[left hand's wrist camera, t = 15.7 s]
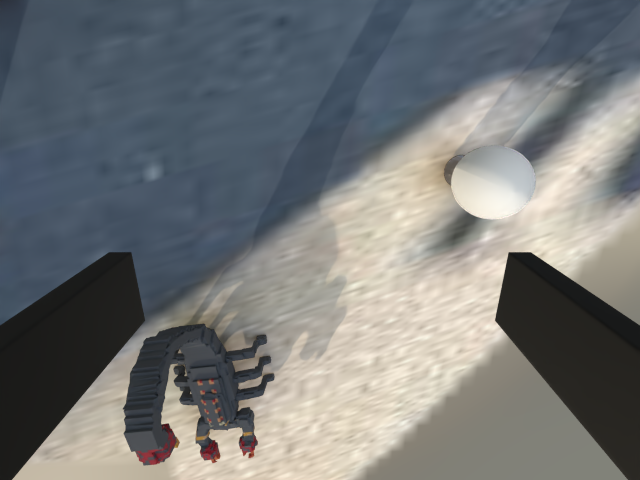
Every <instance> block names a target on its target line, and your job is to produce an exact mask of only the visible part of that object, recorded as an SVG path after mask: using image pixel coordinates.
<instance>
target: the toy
mask: <svg viewBox="0 0 640 480" xmlns="http://www.w3.org/2000/svg"><path fill="white" fill-rule="evenodd" d="M143 343H144V345H143V346H142V348H141V350H140V353H139V356H138V359H137V362H136V364H135V366H134V367H133V368H132V371H131V373H130V384H129V387H128V394H127V400H126V404H125V406H124V408H123V409H125V410H124V413H125V415H126V417H125V419H124V421H125V425H126V430H125V432H124V435H125V438H126V440H127V442H128V445H129V447H130V450H131V452H133V451H135V452H136V454H137V457H139V461H141V462H143V465H154V464H157V463H160V462H164V461H165V459H167V458H168V457H170V455H171V453H172V451H173V449H174V447H175V448H178V445H179V443H180V442H179V440H178V439H177V437H175V435H174V433H173V431H172V429H170V426H169V424H162V425H161V417H162V416H161V412H162V409H163V402H164V399H165V390H166V386H167V382H168V374H169V368H170V365H171V364H177V363H178V365H181V364H185V367H186V371H187V376H184V375H185V367H184V366H175V367H174V372H175V374H176V375H178V376H177V377H176V378H175V380H174V383H175V385H176V386H177V387H180V391H183V393H182V395H181V397H180V399H179V400H180V402H181V404H183V405H198V408H199V411H200V414H201V418H199V421H198V424H197V431H196V444H197V443H199V445H200V446H201V450H200V454H201V457H203V458H204V460H211V461H212V463H215V462H217V461H215V460H217V459H220V453H219V449H218V443H217V442H215V440H211V439H210V438H209V437H208V436H209V434H210V433H209V430H210V429H214V430H228V429H231V428H237V427H240V428H242V430H243V435H242V436H241V437H240V440H239V446H240V449H242V452H243V456H244V455H245V454H246V453H247V452H251V453H249V458H251V457H253V456H254V450H255V446H257V444H258V441H257V440H256V436H255V435H254V429H255V427H254V422H253V421H254V413H253V411H252V410H250V407H247V408H242V409H241V410H240V411H238V407H239V405H238V402H239V401H240V400H245V399H250V398H255V397H259V396H262V395H263V394H264V391H265V388H266V385H267V382H270V381H273V380H274V374H268V375H264V376H263V379H262V382H261V384H260V385H259V386H257V387H251V388H246V389H241V390H240V389H238V386H239V385H238V383H240V382H245V381H247V380H251V379H256V378H258V377H260V376H261V375H262V371H263V366H264V365H265V364H269V363H271V358H270V357H261V358H260V359H259V363H258V366H256V367H255V369H248V370H243V371H238V372H236V373H235V369H234V366H233V363H232V361H235V360H242V359H248V358H253V357H254V356H255V353H256V351H257V348H258V347H259V345H263V344H266V343H267V339H266V335H263V336H257V340H256V341H254V343H253V346H252V347H251V348H246V349H242V350H236V351H229V352H227V351H226V349H225V348H224V346H223V345H222V343H221V342H220V341H219V339H218V337H217V335H216V333H215V331H214V329H212V330H210V329H208V328H207V327H206V326H205V324H197V325H187V326H179V327H174V328H170V329H166V330H163V331H159V333H158V334H157V335H156V336H155V337H150V338H146V339H145V341H144V342H143ZM179 349H180V350H181V352H182V353H178V351H179ZM177 353H178V354H177ZM190 392H191V393H192V394H190Z"/></svg>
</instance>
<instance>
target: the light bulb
mask: <svg viewBox="0 0 640 480" xmlns="http://www.w3.org/2000/svg"><path fill="white" fill-rule="evenodd" d="M444 176H445V179H446V181H447V182H448V183H449V184H450V185H451V188H452V192H453V195H454V197H455V199H456V201H457V202H458V204H459V205H460V206H461V207H462V208H463V209H464V210H465V211H467V212H468V213H470V214H472V215H474V216H477V217H480V218H485V219H501V218H505V217H509V216H511V215H513V214H516V213H517V212H519V211H520V210H521V209H522V208H524V207H525V206H526V205H527V203H528V202H529V201H530V199H531V197H532V196H533V193H534V190H535V184H536V178H535V173H534V170H533V168H532V166H531V164H530V162H529V161H528V160H527V159H526V158H525V157H524V156H523V155H522V154H521V153H519V152H517V151H516V150H513V149H511V148H508V147H505V146H495V145H492V146H484V147H481V148H478V149H475V150H473V151H471V152H469V153H468V154H466V155H459V156H456V157H453V158H452V159H451V160H449V162H448V163H447V164H446V166H445V169H444Z"/></svg>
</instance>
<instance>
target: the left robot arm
mask: <svg viewBox="0 0 640 480" xmlns="http://www.w3.org/2000/svg"><path fill="white" fill-rule="evenodd" d="M144 321H145V318H144V313H143V308H142V303H141V298H140V293H139V288H138V283H137V279H136V274H135V269H134V264H133V259H132V254H131V252H109V253H108V254H106V255H105V256H103V257H102V258H100V259H99V260H97V261H96V262H94V263H93V264H91V265H90V266H88V267H87V268H85V269H84V270H82V271H81V272H79V273H78V274H76V275H75V276H73V277H72V278H70V279H69V280H67V281H66V282H64V283H63V284H61V285H60V286H58V287H57V288H55V289H54V290H52V291H51V292H49V293H48V294H46V295H45V296H44V297H42V298H41V299H39V300H38V301H36V302H35V303H33V304H32V305H30V306H29V307H27V308H26V309H24V310H23V311H21V312H20V313H18V314H17V315H15V316H14V317H12V318H11V319H9V320H8V321H6V322H5V323H3V324H2V325H0V480H12V479H13V478H14V477H15V475H16V474H17V473H18V472H19V471H20V469H21V468H22V467H23V466H24V465H25V464H26V462H27V461H28V460H29V459H30V458H31V456H32V455H33V454H34V453H35V452H36V450H37V449H38V448H39V447H40V446H41V444H42V443H43V442H44V441H45V440H46V438H47V437H48V436H49V435H50V434H51V432H52V431H53V430H54V429H55V428H56V426H57V425H58V424H59V423H60V422H61V420H62V419H63V418H64V417H65V416H66V414H67V413H68V412H69V411H70V410H71V408H72V407H73V406H74V405H75V404H76V402H77V401H78V400H79V399H80V398H81V396H82V395H83V394H84V393H85V392H86V390H87V389H88V388H89V387H90V386H91V384H92V383H93V382H94V381H95V380H96V379H97V377H98V376H99V375H100V374H101V373H102V371H103V370H104V369H105V368H106V367H107V365H108V364H109V363H110V362H111V361H112V359H113V358H114V357H115V356H116V355H117V353H118V352H119V351H120V350H121V349H122V347H123V346H124V345H125V344H126V343H127V341H128V340H129V339H130V338H131V337H132V335H133V334H134V333H135V332H136V331H137V329H138V328H139V327H140V326H141V325H142V323H143V322H144ZM495 321H496V322H497V323H498V325H499V326H500V327H501V328H502V329H503V331H504V332H505V333H506V334H507V335H508V337H509V338H510V339H511V340H512V341H513V343H514V344H515V345H516V346H517V347H518V349H519V350H520V351H521V352H522V353H523V354H524V356H525V357H526V358H527V359H528V361H529V362H530V363H531V364H532V365H533V366H534V368H535V369H536V370H537V371H538V373H539V374H540V375H541V376H542V377H543V378H544V380H545V381H546V382H547V383H548V384H549V386H550V387H551V388H552V389H553V390H554V392H555V393H556V394H557V395H558V396H559V398H560V399H561V400H562V401H563V402H564V404H565V405H566V406H567V407H568V408H569V410H570V411H571V412H572V413H573V414H574V416H575V417H576V418H577V419H578V420H579V422H580V423H581V424H582V425H583V426H584V428H585V429H586V430H587V431H588V432H589V434H590V435H591V436H592V437H593V438H594V440H595V441H596V442H597V443H598V444H599V446H600V447H601V448H602V449H603V450H604V451H605V453H606V454H607V455H608V456H609V458H610V459H611V460H612V461H613V462H614V464H615V465H616V466H617V467H618V468H619V469H620V471H621V472H622V473H623V474H624V475H625V477H626V478H627V479H628V480H640V325H638V324H637V323H635V322H634V321H632V320H631V319H629V318H628V317H626V316H625V315H623V314H622V313H620V312H619V311H617V310H616V309H614V308H613V307H611V306H610V305H608V304H607V303H605V302H604V301H602V300H601V299H599V298H598V297H596V296H595V295H593V294H592V293H591V292H589V291H588V290H586V289H585V288H583V287H582V286H580V285H579V284H577V283H576V282H574V281H573V280H571V279H570V278H568V277H567V276H565V275H564V274H562V273H561V272H559V271H558V270H556V269H555V268H553V267H552V266H550V265H549V264H547V263H546V262H544V261H543V260H541V259H540V258H538V257H537V256H535V255H534V254H532V253H531V252H509V254H508V259H507V264H506V269H505V274H504V279H503V283H502V288H501V293H500V298H499V303H498V308H497V313H496V318H495Z"/></svg>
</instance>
